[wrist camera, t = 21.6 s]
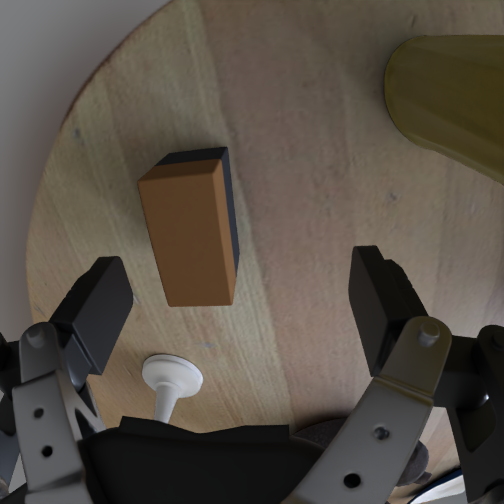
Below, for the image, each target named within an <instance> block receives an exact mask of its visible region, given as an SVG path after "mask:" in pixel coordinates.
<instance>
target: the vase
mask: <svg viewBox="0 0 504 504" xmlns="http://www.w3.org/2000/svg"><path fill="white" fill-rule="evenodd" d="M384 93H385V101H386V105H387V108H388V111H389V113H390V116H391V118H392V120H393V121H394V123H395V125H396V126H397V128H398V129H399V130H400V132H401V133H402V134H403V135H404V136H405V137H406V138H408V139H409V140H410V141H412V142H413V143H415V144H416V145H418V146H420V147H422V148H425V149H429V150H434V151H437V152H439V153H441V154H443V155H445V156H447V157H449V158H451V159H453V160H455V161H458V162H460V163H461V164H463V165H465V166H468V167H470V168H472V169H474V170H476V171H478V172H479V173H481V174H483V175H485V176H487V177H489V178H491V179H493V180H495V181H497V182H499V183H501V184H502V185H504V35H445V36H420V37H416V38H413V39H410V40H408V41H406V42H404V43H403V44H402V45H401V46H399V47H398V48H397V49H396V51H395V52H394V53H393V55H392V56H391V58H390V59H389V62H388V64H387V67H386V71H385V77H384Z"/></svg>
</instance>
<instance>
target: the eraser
mask: <svg viewBox="0 0 504 504" xmlns="http://www.w3.org/2000/svg"><path fill="white" fill-rule="evenodd" d="M137 184H138V188H139V193H140V198H141V202H142V207H143V211H144V215H145V220H146V224H147V228H148V232H149V236H150V240H151V244H152V248H153V252H154V256H155V260H156V263H157V267H158V271H159V274H160V278H161V282H162V285H163V289H164V292H165V296H166V299H167V302H168V306H170V307H184V306H227V305H232V304H233V299H234V291H235V283H236V277H237V269H238V262H239V254H240V253H239V244H238V235H237V227H236V218H235V209H234V201H233V192H232V183H231V174H230V165H229V155H228V148H227V147H219V148H209V149H200V150H191V151H183V152H175V153H169V154H168V155H166V156H165V157H164V158H163V159H162V160H160V161H159V162H158V163H157V164H156V165H155V166H154V167H153V168H152V169H150V170H149V171H148V172H147V173H146V174H145V175H144V176H143V177H141V178H140V179H139V180H138V182H137Z"/></svg>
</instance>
